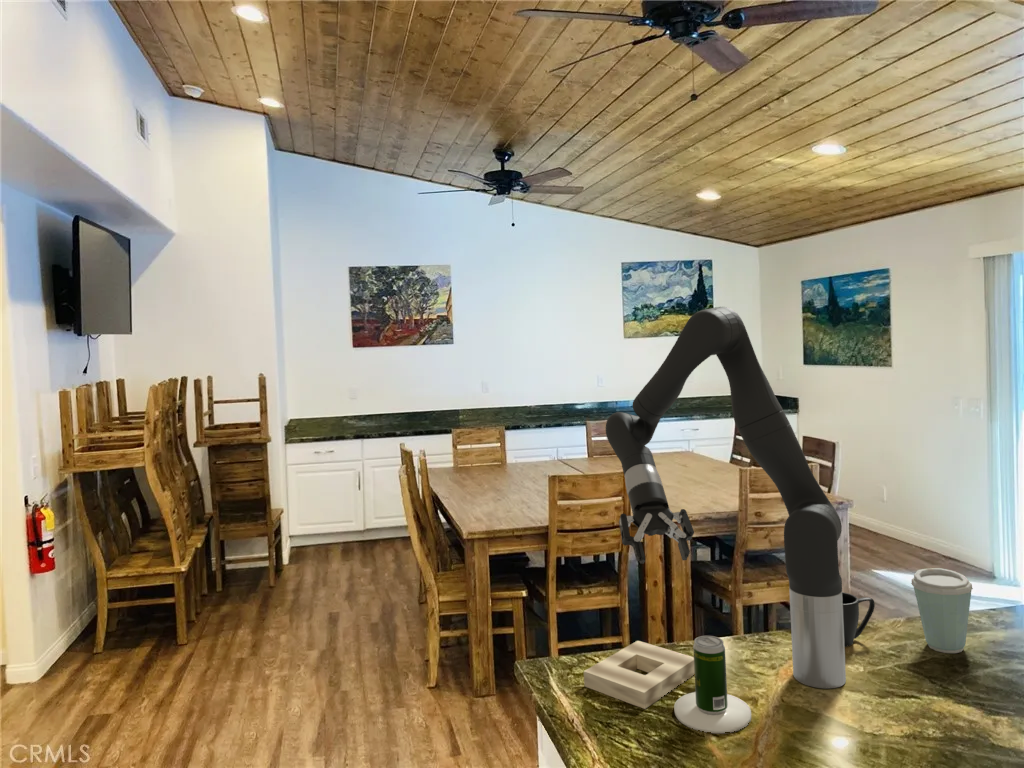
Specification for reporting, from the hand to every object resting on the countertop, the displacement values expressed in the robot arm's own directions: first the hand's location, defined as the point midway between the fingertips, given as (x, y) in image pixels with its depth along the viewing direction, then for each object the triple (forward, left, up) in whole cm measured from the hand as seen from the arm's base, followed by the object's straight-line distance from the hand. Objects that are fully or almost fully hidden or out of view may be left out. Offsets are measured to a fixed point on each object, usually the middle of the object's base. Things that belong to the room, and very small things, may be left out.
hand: (664, 560), depth 138 cm
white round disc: (+8, +13, -23) cm, 28 cm away
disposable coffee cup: (-44, +36, -23) cm, 62 cm away
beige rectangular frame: (+5, -4, -23) cm, 24 cm away
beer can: (+8, +13, -22) cm, 27 cm away
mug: (-36, +20, -23) cm, 48 cm away
